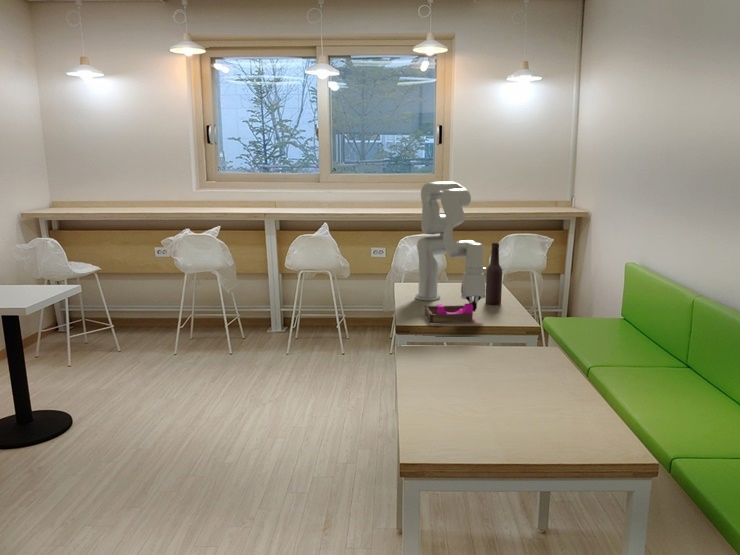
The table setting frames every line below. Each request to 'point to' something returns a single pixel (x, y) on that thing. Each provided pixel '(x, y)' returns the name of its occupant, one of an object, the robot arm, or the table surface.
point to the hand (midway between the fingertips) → (472, 310)
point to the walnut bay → (447, 315)
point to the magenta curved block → (467, 309)
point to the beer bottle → (494, 278)
